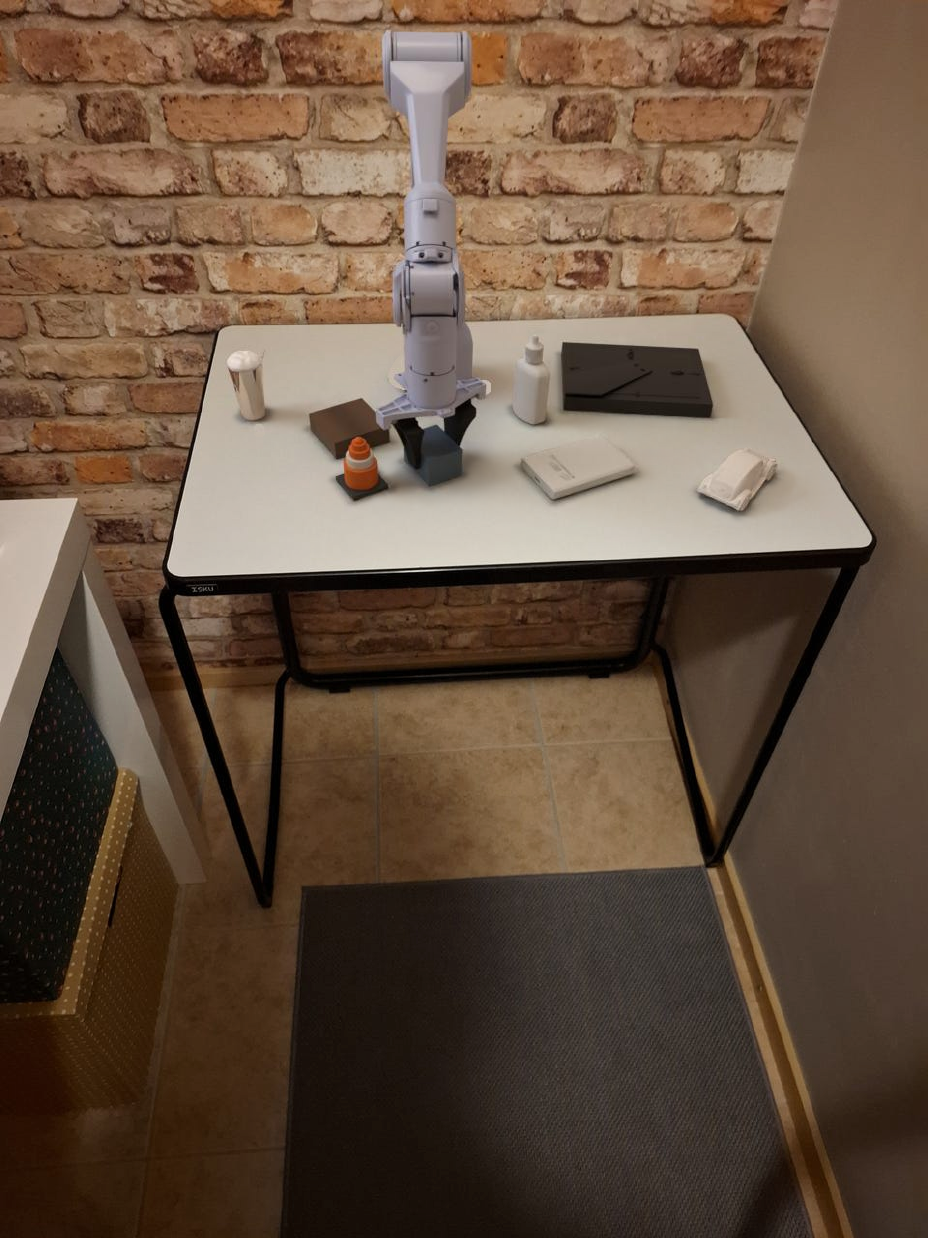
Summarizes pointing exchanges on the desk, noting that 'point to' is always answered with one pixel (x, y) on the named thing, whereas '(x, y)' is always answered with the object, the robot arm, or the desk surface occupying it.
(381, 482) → the cone
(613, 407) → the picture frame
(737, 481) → the car
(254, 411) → the milkshake
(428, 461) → the blue block
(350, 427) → the base block
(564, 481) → the hard drive
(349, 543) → the desk surface
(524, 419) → the eye dropper bottle
